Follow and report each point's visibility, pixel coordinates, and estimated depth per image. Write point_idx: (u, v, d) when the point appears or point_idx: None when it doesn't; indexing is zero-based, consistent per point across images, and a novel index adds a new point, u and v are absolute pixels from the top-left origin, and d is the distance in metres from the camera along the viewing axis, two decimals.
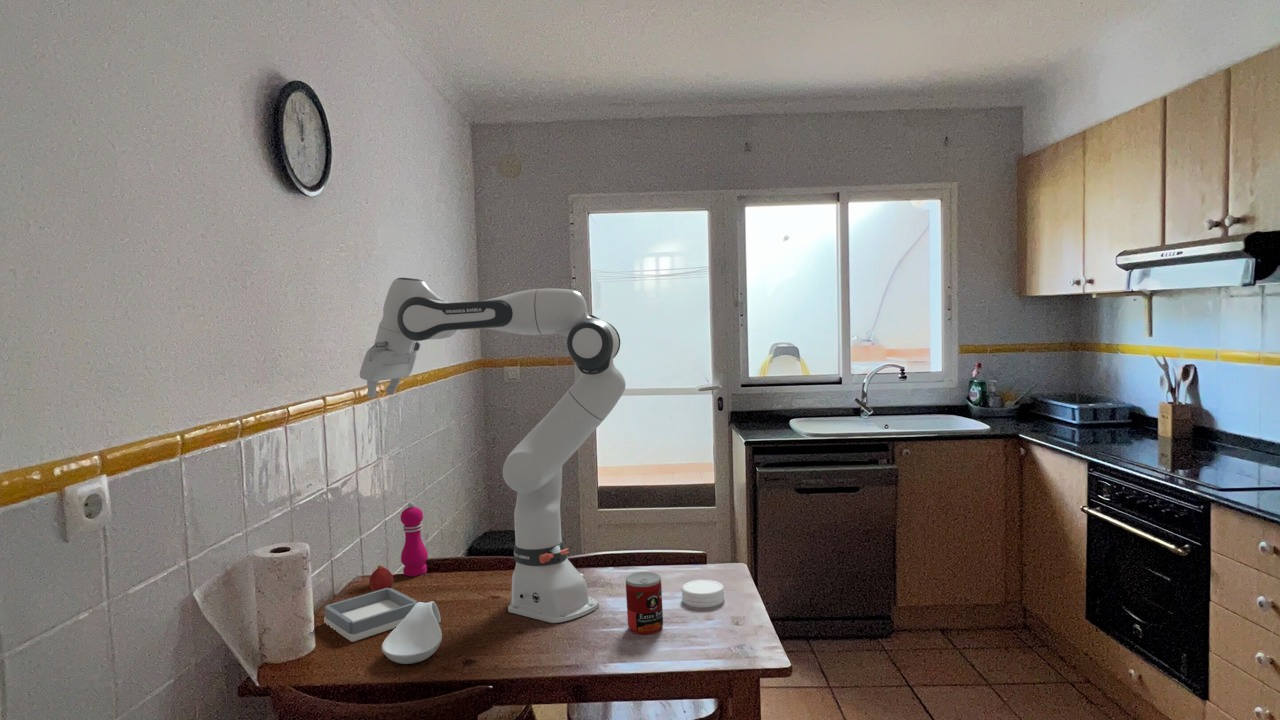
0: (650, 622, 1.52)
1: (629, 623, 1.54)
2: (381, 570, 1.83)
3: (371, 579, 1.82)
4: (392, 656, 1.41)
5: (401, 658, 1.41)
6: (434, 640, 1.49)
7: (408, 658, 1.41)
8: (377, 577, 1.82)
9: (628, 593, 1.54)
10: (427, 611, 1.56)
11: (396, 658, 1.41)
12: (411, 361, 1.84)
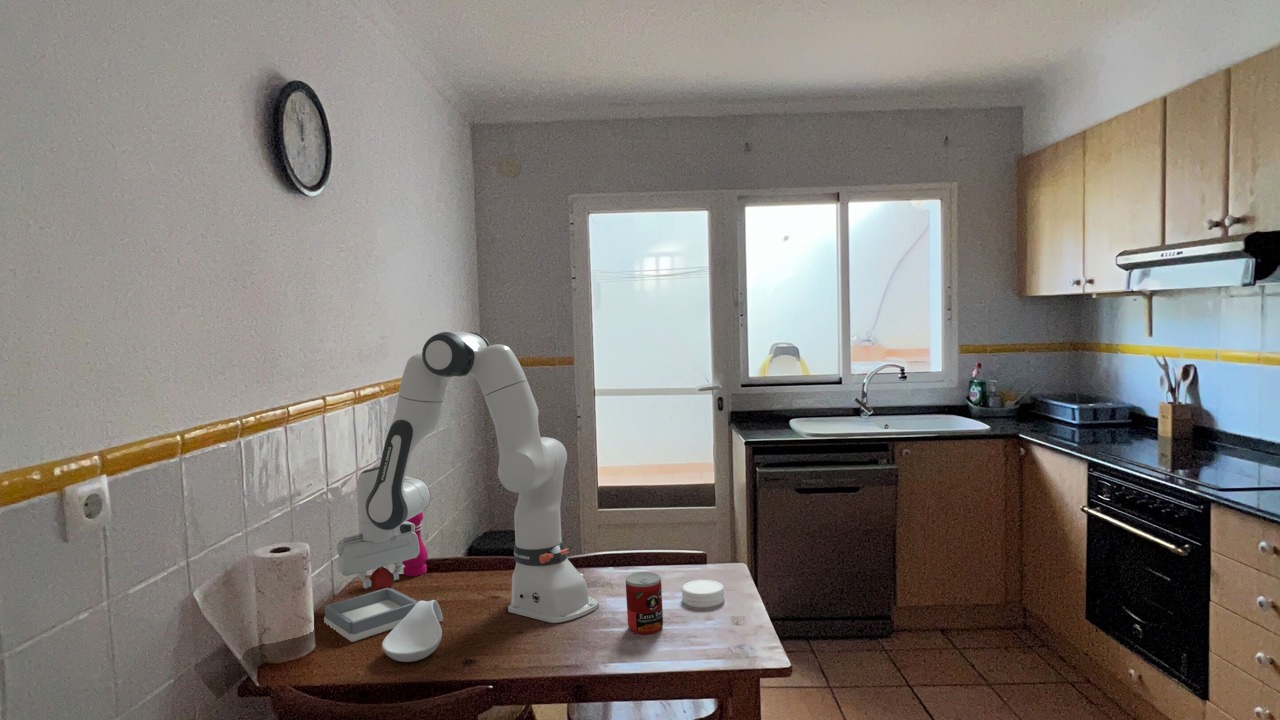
0: (650, 622, 1.52)
1: (629, 623, 1.54)
2: (381, 570, 1.83)
3: (371, 579, 1.82)
4: (392, 654, 1.42)
5: (400, 656, 1.42)
6: (434, 638, 1.50)
7: (407, 656, 1.42)
8: (377, 577, 1.82)
9: (628, 593, 1.54)
10: (428, 609, 1.56)
11: (395, 656, 1.42)
12: (412, 542, 1.88)
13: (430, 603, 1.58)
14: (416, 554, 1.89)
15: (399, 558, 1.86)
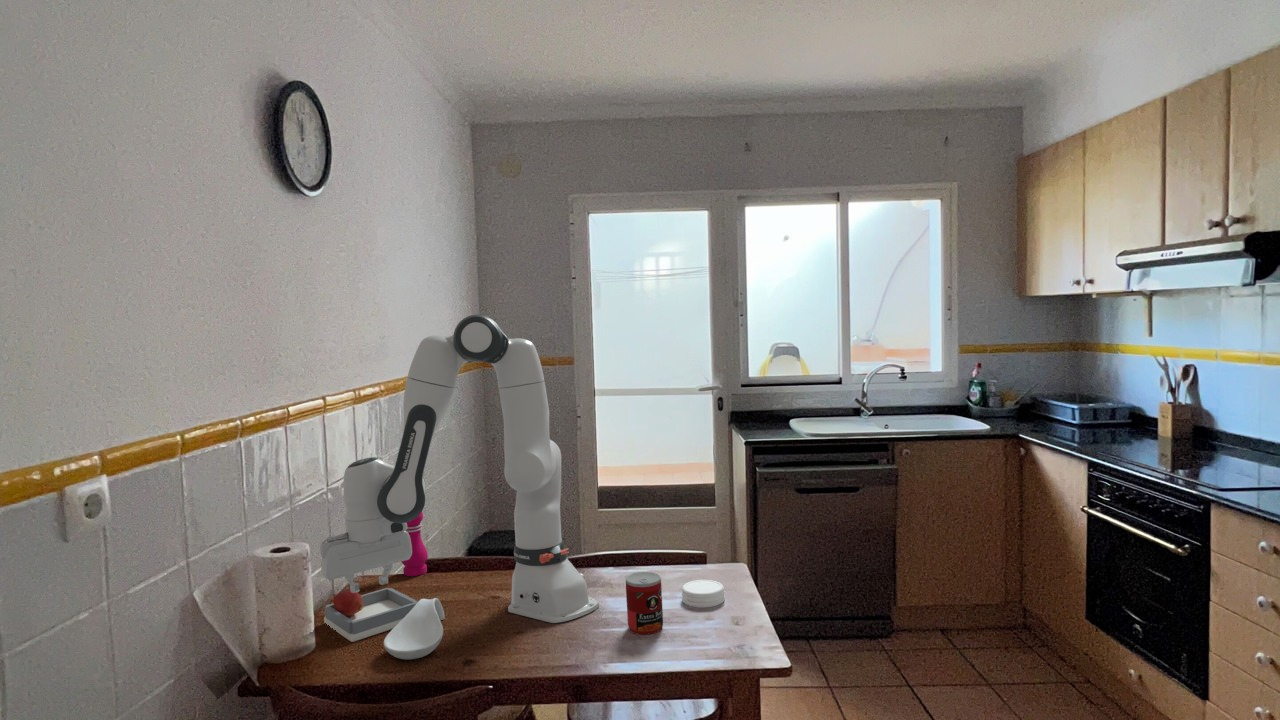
0: (650, 622, 1.52)
1: (629, 623, 1.54)
2: (334, 599, 1.67)
3: None
4: (393, 652, 1.43)
5: (402, 654, 1.43)
6: (435, 636, 1.51)
7: (408, 654, 1.43)
8: (335, 605, 1.65)
9: (628, 593, 1.54)
10: (429, 607, 1.57)
11: (397, 654, 1.43)
12: (404, 542, 1.71)
13: (432, 601, 1.59)
14: (408, 556, 1.72)
15: (389, 560, 1.69)
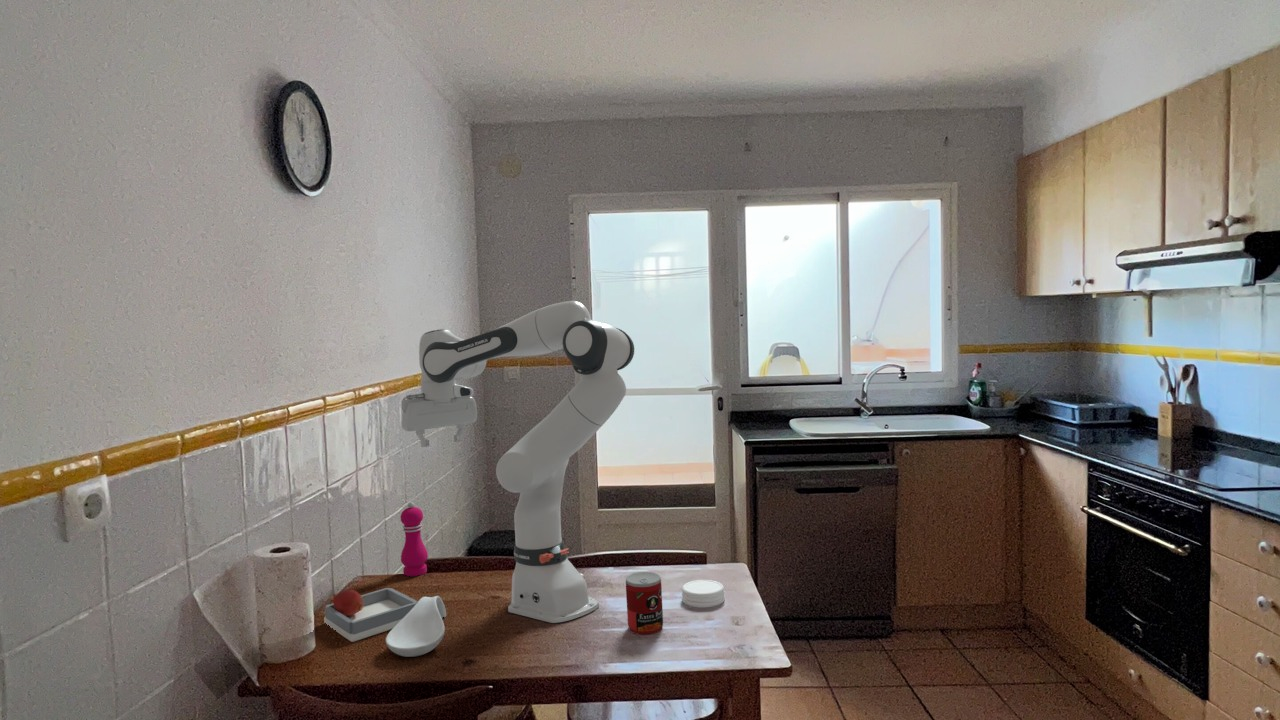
0: (650, 622, 1.52)
1: (629, 623, 1.54)
2: (334, 599, 1.67)
3: None
4: (395, 649, 1.45)
5: (403, 651, 1.44)
6: (437, 634, 1.52)
7: (410, 651, 1.44)
8: (335, 605, 1.65)
9: (628, 593, 1.54)
10: (431, 605, 1.59)
11: (399, 651, 1.45)
12: (470, 407, 1.93)
13: (433, 599, 1.61)
14: (474, 419, 1.94)
15: (459, 421, 1.91)
